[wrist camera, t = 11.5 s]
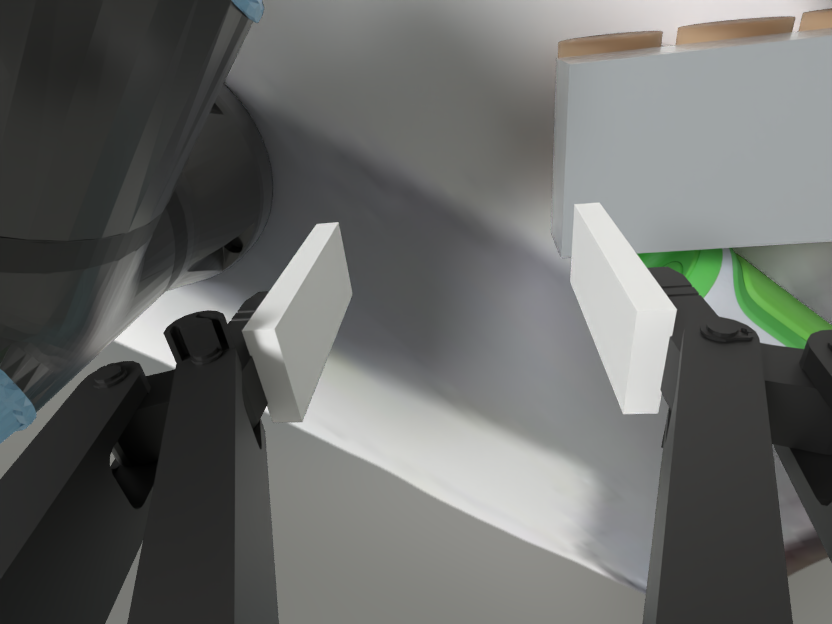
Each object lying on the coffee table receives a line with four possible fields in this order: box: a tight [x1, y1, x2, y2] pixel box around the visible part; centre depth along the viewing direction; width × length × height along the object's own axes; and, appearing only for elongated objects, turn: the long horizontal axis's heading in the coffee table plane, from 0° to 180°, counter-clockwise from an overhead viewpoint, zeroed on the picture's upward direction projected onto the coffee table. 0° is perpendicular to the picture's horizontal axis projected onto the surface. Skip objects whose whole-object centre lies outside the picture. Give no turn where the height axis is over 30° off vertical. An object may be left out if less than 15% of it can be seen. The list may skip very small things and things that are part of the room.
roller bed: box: [558, 8, 832, 58], centre depth 27 cm, size 17×10×5 cm, turn 96°
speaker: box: [637, 248, 832, 349], centre depth 33 cm, size 18×7×8 cm, turn 57°
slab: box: [551, 28, 832, 258], centre depth 24 cm, size 18×9×4 cm, turn 96°
